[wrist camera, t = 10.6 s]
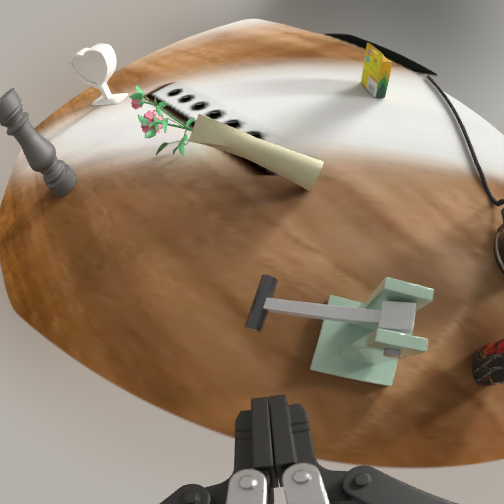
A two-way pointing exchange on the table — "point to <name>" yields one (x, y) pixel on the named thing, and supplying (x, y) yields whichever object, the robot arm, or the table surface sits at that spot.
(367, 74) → the crayon box
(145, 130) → the flower vase
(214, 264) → the table surface
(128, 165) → the table surface
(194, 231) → the table surface
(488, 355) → the deodorant
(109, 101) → the heart sculpture
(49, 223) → the table surface
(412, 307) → the lever
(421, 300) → the bracket
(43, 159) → the candle holder
